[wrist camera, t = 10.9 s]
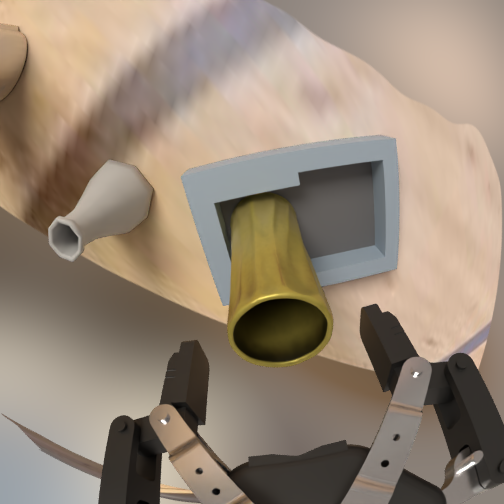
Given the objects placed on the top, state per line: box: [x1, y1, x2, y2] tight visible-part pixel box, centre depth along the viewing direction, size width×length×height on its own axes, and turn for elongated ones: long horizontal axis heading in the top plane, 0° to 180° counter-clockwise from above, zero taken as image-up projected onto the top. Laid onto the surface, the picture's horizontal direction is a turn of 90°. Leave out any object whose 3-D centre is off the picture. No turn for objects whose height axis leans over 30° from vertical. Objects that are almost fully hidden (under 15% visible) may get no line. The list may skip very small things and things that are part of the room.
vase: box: [227, 192, 333, 367], centre depth 19 cm, size 6×6×14 cm
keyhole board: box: [181, 135, 399, 306], centre depth 24 cm, size 13×18×3 cm
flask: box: [48, 159, 153, 262], centre depth 20 cm, size 7×7×10 cm
